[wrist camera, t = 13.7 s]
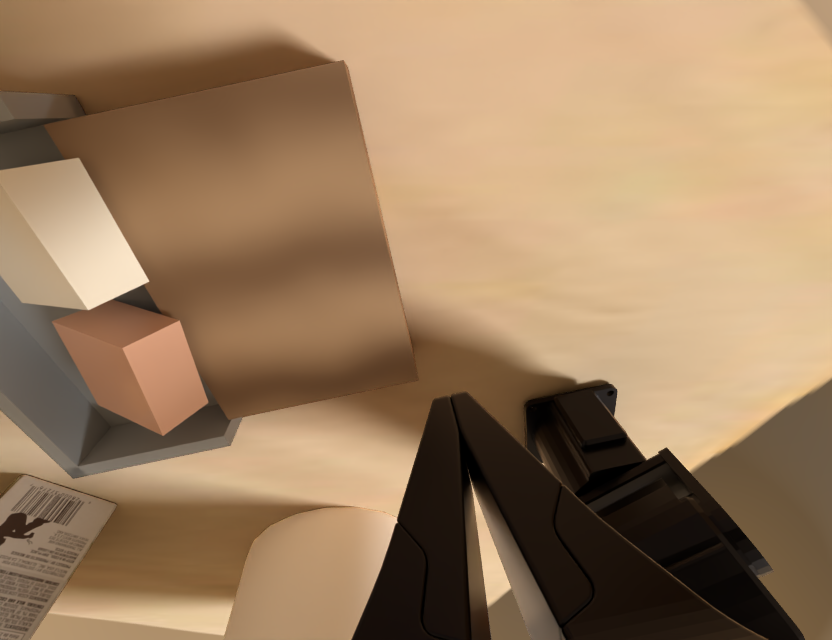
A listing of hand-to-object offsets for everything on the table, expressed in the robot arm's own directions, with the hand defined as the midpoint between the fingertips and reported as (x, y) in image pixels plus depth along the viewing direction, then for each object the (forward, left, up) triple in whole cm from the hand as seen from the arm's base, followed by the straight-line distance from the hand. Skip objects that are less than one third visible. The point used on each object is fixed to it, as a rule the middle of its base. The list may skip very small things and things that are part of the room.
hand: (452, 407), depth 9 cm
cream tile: (+5, +14, -10) cm, 18 cm away
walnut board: (+1, +7, -12) cm, 14 cm away
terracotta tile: (-2, +14, -10) cm, 17 cm away
